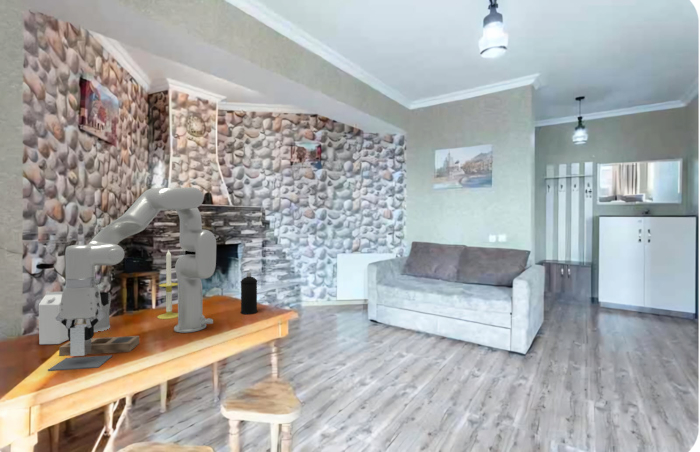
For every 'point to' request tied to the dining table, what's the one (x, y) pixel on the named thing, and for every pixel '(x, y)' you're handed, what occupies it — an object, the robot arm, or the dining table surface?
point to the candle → (168, 290)
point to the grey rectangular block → (79, 341)
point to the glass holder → (104, 322)
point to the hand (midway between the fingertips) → (81, 338)
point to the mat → (80, 363)
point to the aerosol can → (248, 295)
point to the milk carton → (51, 320)
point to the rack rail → (106, 345)
